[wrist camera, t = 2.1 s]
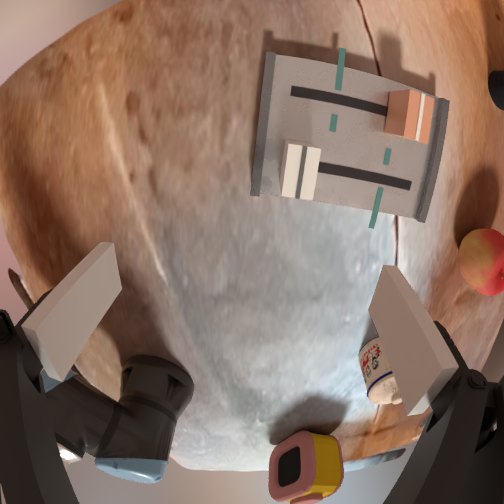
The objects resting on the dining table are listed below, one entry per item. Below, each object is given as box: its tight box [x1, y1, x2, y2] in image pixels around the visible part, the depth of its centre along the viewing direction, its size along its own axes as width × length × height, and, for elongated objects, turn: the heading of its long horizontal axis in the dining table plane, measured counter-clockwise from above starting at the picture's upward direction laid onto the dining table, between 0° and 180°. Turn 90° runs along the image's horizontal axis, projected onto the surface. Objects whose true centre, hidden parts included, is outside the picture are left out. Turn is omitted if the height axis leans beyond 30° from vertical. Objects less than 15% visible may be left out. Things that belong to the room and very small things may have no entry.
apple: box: [458, 228, 504, 296], centre depth 31 cm, size 10×10×10 cm
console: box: [250, 48, 450, 229], centre depth 29 cm, size 22×20×3 cm
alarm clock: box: [269, 430, 344, 504], centre depth 54 cm, size 18×11×19 cm, turn 152°
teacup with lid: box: [359, 337, 402, 404], centre depth 41 cm, size 12×9×12 cm
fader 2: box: [384, 89, 434, 144], centre depth 24 cm, size 3×5×5 cm, turn 174°
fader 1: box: [279, 140, 321, 200], centre depth 27 cm, size 3×5×5 cm, turn 174°
